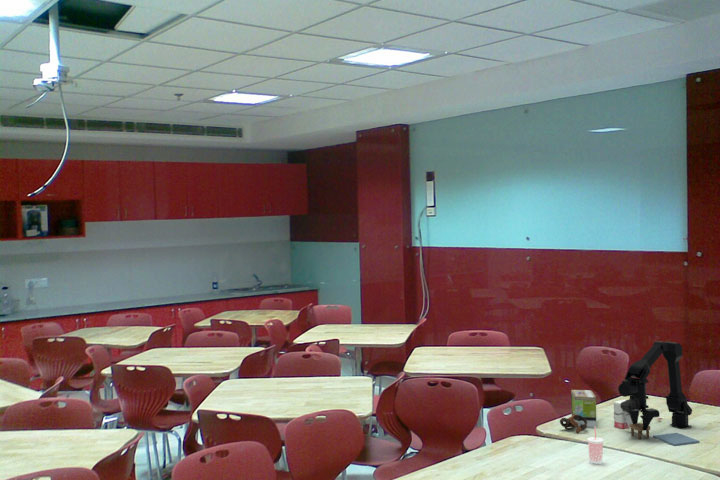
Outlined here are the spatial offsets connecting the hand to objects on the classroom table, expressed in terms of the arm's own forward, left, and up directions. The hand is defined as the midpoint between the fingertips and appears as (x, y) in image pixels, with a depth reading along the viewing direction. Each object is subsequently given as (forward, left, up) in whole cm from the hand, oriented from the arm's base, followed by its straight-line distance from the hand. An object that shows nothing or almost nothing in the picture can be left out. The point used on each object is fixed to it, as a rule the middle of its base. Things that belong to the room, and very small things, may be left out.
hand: (640, 428), depth 292 cm
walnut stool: (0, 0, -4) cm, 4 cm away
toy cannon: (+21, -19, -4) cm, 29 cm away
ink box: (-4, -16, -4) cm, 17 cm away
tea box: (+10, -27, -4) cm, 29 cm away
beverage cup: (+38, +21, -4) cm, 44 cm away
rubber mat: (-11, +9, -4) cm, 15 cm away
